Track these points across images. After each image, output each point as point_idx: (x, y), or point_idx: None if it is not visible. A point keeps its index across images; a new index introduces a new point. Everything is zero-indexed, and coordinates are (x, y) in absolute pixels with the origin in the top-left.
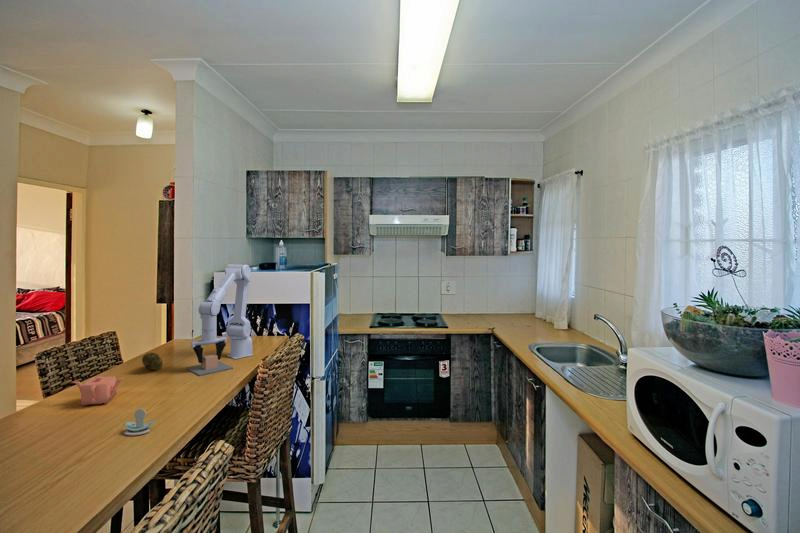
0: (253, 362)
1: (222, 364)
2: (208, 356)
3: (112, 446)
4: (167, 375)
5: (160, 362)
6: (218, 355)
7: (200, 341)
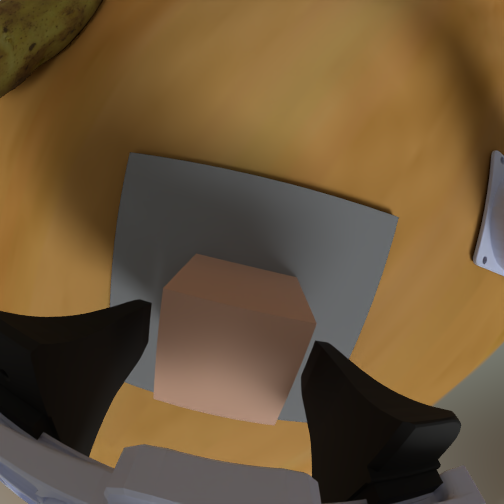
0: (443, 390)
1: (340, 331)
2: (202, 381)
3: None
4: (24, 202)
5: (10, 81)
6: (311, 396)
7: (23, 490)
